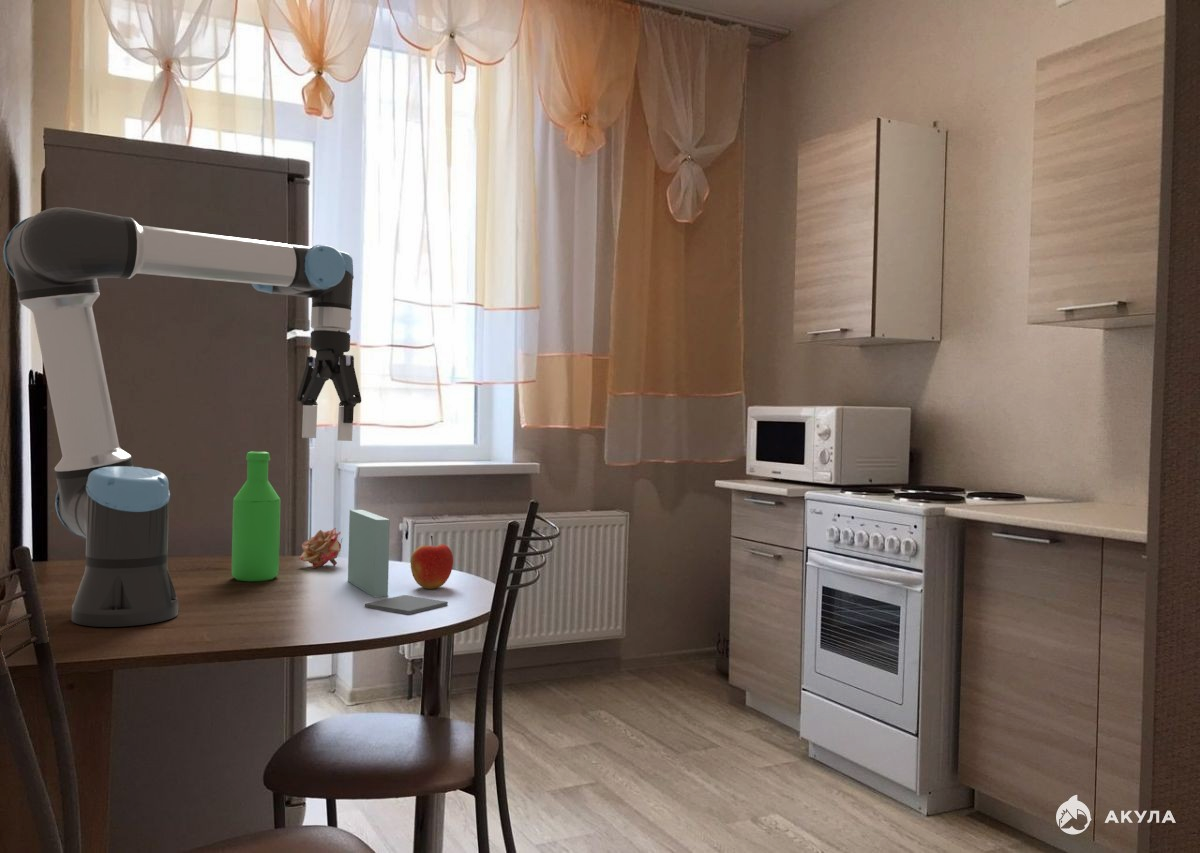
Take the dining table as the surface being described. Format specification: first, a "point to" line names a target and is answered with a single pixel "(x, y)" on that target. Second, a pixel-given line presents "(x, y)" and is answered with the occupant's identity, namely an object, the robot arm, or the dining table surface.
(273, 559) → the bottle
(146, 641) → the dining table surface
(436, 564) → the apple
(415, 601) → the coaster
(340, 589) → the dining table surface
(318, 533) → the flower
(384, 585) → the grey-green flat block
